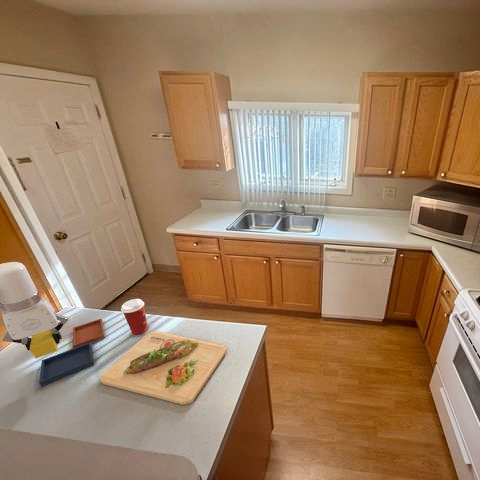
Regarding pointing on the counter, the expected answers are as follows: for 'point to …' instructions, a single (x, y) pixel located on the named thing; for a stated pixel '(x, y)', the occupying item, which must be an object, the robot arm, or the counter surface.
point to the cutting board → (165, 367)
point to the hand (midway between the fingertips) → (46, 345)
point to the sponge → (43, 344)
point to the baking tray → (66, 364)
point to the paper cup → (135, 316)
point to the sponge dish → (88, 333)
